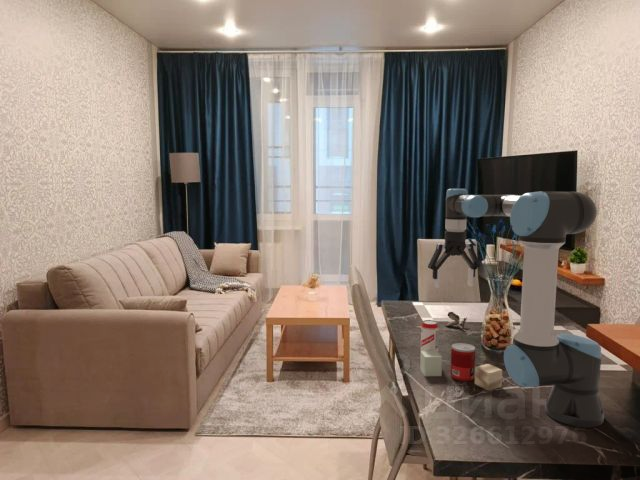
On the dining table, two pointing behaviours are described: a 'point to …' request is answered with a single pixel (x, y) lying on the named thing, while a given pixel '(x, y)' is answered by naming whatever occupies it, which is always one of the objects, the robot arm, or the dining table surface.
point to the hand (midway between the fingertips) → (453, 286)
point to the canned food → (462, 362)
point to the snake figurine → (457, 320)
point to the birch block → (488, 377)
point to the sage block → (431, 363)
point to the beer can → (429, 336)
